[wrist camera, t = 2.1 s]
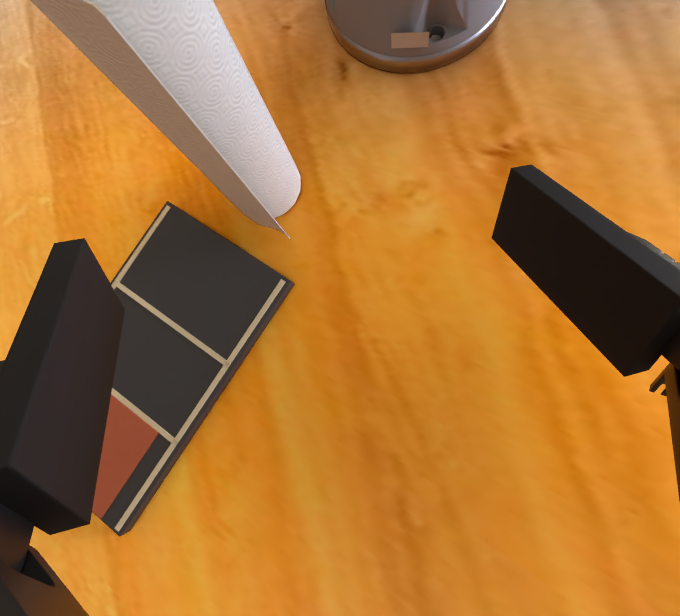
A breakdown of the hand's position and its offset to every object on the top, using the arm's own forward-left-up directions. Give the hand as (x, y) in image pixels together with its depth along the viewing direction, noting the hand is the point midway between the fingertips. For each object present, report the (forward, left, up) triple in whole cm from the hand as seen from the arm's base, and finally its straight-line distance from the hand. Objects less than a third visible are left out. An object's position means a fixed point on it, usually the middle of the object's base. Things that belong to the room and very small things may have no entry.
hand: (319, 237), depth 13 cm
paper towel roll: (-4, -13, -19) cm, 23 cm away
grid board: (+12, -13, -19) cm, 26 cm away
